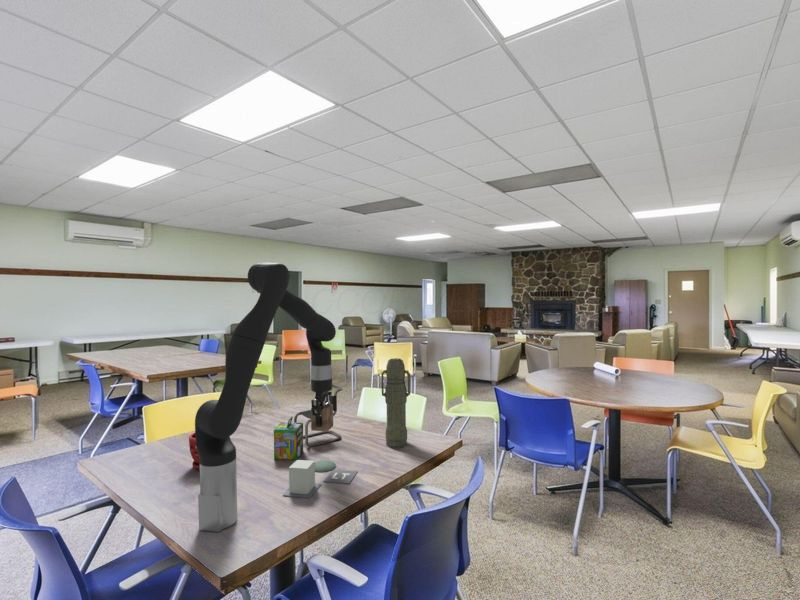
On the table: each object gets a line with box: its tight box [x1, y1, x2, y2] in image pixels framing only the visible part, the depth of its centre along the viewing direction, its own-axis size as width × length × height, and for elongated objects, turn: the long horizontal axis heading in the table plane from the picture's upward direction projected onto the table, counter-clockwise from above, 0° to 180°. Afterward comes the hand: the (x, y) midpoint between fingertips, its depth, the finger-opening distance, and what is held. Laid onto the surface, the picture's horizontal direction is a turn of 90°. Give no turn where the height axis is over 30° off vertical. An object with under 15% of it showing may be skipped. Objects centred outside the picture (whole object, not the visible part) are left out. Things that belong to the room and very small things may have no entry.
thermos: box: [380, 357, 411, 449], centre depth 171 cm, size 9×12×35 cm
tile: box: [322, 469, 358, 485], centre depth 141 cm, size 9×9×1 cm
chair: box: [293, 383, 343, 448], centre depth 177 cm, size 13×17×22 cm
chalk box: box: [273, 415, 304, 461], centre depth 160 cm, size 9×9×15 cm
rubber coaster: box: [315, 460, 337, 473], centre depth 150 cm, size 9×9×1 cm
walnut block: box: [310, 404, 334, 432], centre depth 149 cm, size 6×6×8 cm
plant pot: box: [188, 432, 200, 471], centre depth 152 cm, size 13×13×12 cm
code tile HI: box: [282, 482, 322, 499], centre depth 132 cm, size 9×9×1 cm
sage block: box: [288, 459, 316, 494], centre depth 132 cm, size 6×6×8 cm
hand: (322, 423), depth 149 cm, fingers closed on walnut block, 6 cm apart
